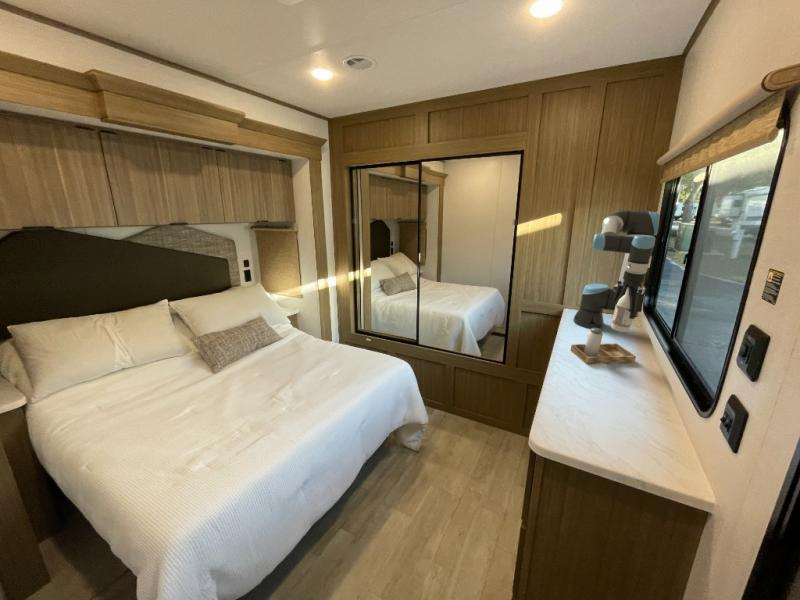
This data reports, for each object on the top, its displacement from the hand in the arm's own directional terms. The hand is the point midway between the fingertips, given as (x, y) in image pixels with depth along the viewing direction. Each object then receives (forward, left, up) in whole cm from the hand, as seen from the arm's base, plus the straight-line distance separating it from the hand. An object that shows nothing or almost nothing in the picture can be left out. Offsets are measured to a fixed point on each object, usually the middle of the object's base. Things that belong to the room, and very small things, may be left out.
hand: (621, 321), depth 147 cm
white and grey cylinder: (+9, -6, -17) cm, 21 cm away
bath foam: (0, 0, -4) cm, 4 cm away
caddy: (+5, -3, -18) cm, 19 cm away
